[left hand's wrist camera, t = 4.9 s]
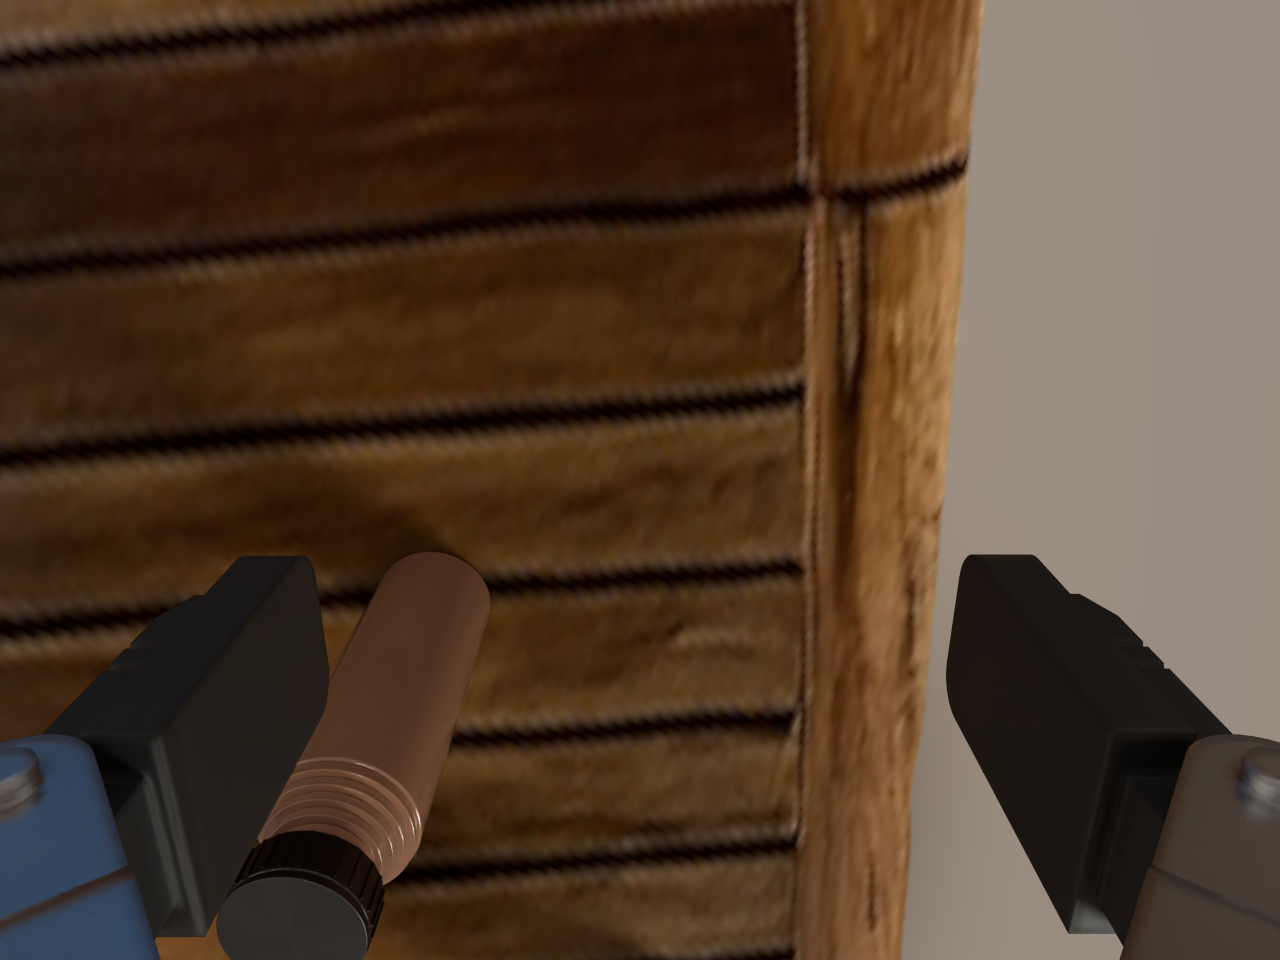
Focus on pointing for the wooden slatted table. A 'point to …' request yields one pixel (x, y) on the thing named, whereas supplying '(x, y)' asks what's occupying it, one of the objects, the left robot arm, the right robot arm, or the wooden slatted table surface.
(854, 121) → the wooden slatted table surface
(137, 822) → the left robot arm
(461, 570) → the bottle
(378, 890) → the cap
